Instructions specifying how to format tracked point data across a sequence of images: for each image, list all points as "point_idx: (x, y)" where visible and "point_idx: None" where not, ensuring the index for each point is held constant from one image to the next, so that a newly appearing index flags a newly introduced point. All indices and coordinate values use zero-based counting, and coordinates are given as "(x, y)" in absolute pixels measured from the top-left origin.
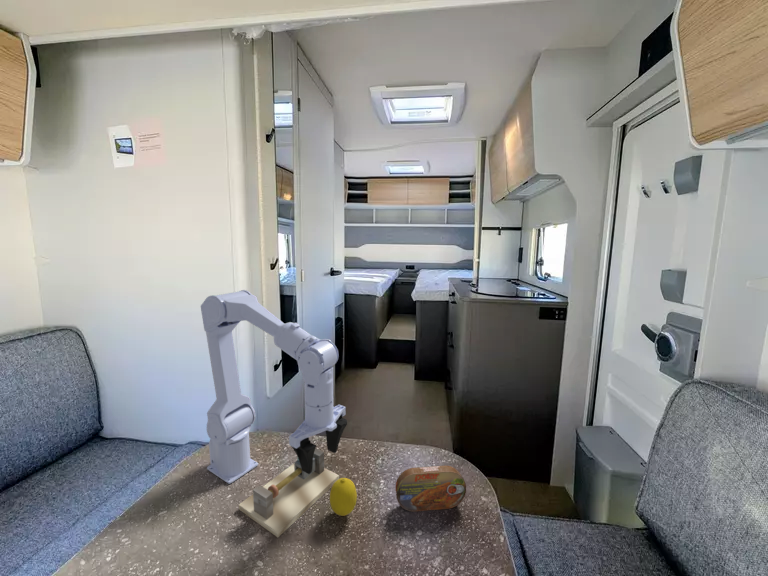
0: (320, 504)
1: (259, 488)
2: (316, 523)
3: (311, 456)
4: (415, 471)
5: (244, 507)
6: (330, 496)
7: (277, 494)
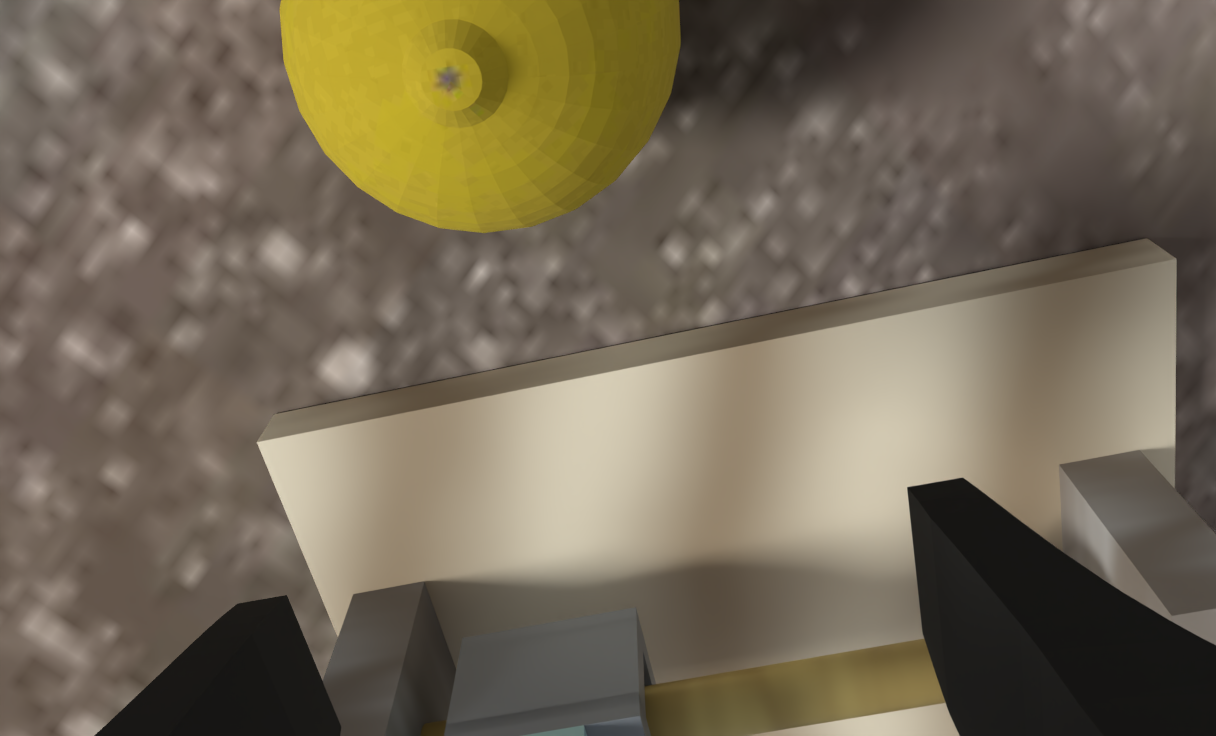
0: (618, 283)
1: None
2: (797, 112)
3: (1163, 696)
4: None
5: None
6: (658, 118)
7: None
